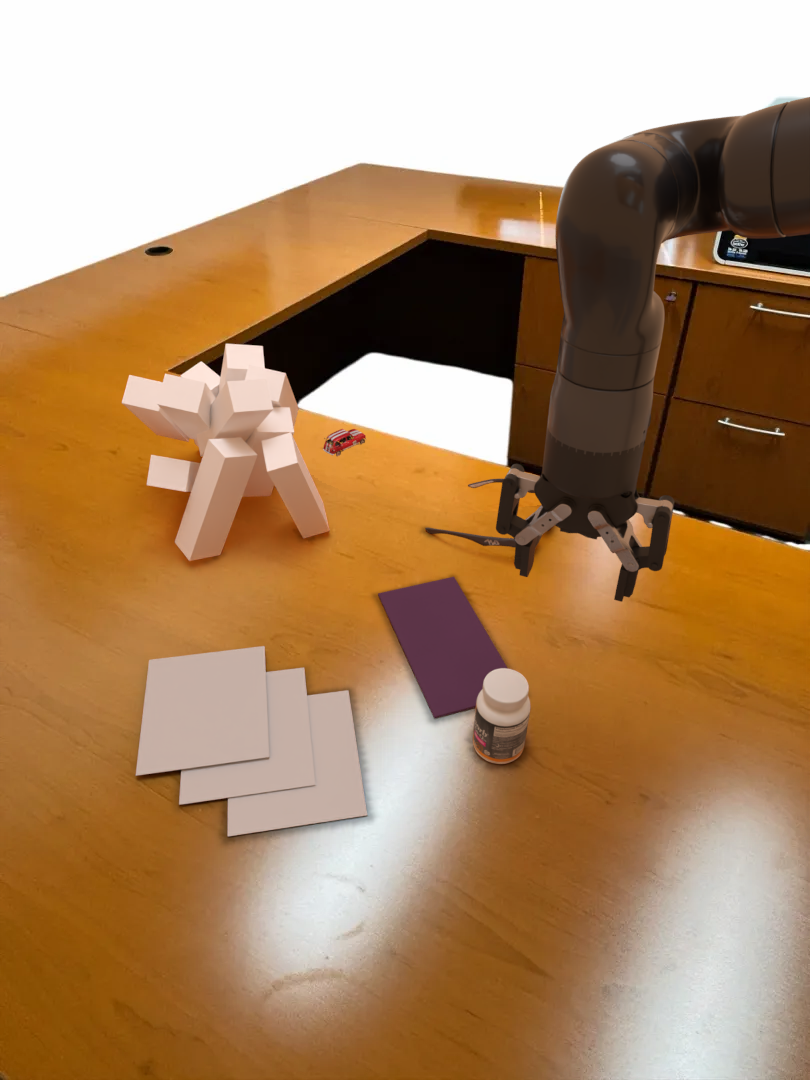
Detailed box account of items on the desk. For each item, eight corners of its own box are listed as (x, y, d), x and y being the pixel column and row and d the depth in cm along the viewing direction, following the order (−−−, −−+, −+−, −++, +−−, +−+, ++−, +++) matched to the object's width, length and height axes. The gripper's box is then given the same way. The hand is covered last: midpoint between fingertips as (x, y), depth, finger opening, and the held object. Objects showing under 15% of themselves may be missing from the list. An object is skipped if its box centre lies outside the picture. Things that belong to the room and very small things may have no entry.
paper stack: (340, 640, 98) (340, 636, 97) (367, 815, 78) (367, 811, 78) (150, 663, 95) (149, 659, 94) (128, 852, 75) (126, 848, 75)
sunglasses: (524, 573, 108) (523, 544, 105) (421, 545, 116) (418, 517, 113) (569, 514, 119) (570, 486, 116) (472, 491, 127) (471, 465, 124)
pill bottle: (465, 729, 87) (470, 668, 81) (514, 720, 88) (522, 659, 82) (481, 771, 83) (487, 710, 77) (532, 761, 84) (542, 700, 78)
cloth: (522, 695, 91) (522, 693, 91) (434, 718, 88) (434, 716, 88) (453, 578, 107) (454, 576, 107) (377, 595, 105) (377, 593, 104)
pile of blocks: (111, 513, 128) (6, 392, 96) (234, 392, 137) (176, 244, 105) (267, 638, 119) (209, 549, 87) (388, 499, 128) (376, 373, 96)
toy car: (368, 443, 136) (367, 427, 134) (332, 459, 131) (331, 443, 130) (355, 435, 138) (354, 419, 136) (319, 451, 134) (318, 435, 132)
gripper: (493, 429, 59) (483, 588, 69) (686, 466, 55) (645, 631, 65) (521, 387, 65) (508, 541, 75) (699, 418, 60) (660, 577, 70)
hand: (572, 583), depth 70 cm, fingers open, 8 cm apart
